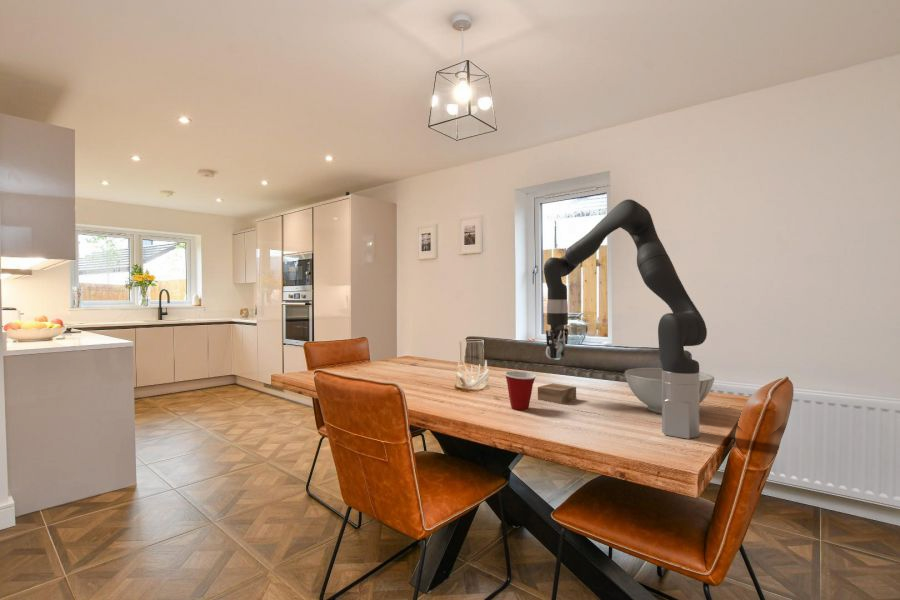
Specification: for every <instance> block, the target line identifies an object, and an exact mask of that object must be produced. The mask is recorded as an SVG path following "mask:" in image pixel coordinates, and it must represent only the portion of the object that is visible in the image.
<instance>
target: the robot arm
mask: <svg viewBox="0 0 900 600" xmlns="http://www.w3.org/2000/svg"><path fill="white" fill-rule="evenodd" d="M620 228H621V229H623V230H624V231H625V232H627V233H628V235H629V236H630V237H631V239H632V241H633V243H634V244H635V247H636V250H637V251H636V252H637V253H636V266H637V268H638V269H637V270H638V272H639V274H640V276H641V279H642V281H643V283H644V284H645V285H646V287H647V288H648V289H649V290H650V291H651V292H652V293H654V294H655V295H656V296H657V297H659V299H660V300H662V301H663V302H665V304H666V305H667V306H668V307H669V309H670V310H671V312H668V313H665V314H663V315H662V316H661V318H660V319H659V322H658V325H657V336H658V337H657V340H658V354H659V355H658V356H659V360H660V365H661V368H662V413H661V431H662V433H663V434H664V435H665V436H670V437H677V438H683V439H688V440H689V439H693V438H698V437H699V436H700V404H699V372H700V363H699V362H698V361H697V360H695V359H693V358H690V357H688V356H687V355H686V353H685V349H684V347H697V346H700V345H702V344H703V343H705V341H706V340H707V335H708V330H707V329H708V328H707V325H706V322H705V320H704V318H703V316H702V314H701V313H700V311H699V309H698V308H697V307H696V305H695V303H694V302H693V301H692V299H691V297H690V296H689V294H688V292H687V290H686V289H685V287H684V285H683V282H682V281H681V279H680V276H679V275H678V273H677V271H676V268H675V266H674V264H673V262H672V260H671V257H670V256H669V254H668V253H667V251H666V249H665V247H664V244H663V243H662V241H661V240H660V238H659V235H658V233H657V230H656V227H655V224H654V220H653V218H652V215H651V213H650V211H649V210H648V209H647V207H645V206H643V204H640V203H639V202H638V201H636V200H634V199H630V198H629V199H624V200H623V201H621V202H619V203H618V204H617V205H615V206H614V207H613V208H612V209H611V210H610V211H609V212H608V213H607V214H606V215H605V216H604V217H603V218H602V219H601V220H600V221H599V222H598V223H597V224H596V225H595V226H594V227H592V229H591V230H590V231H589V232H588V233H586V234H584V236H583V237H581V238H580V239H578V240H577V241H576V242H574V243H573V244H571V245H570V246H569V247H567V249H566V250H565V253H564V255H563V256H562V257H555V256H553V257H550V258H547V260H546V261H545V263H544V266H543V275H544V281H545V284H546V287H547V301H546V302H547V303H546V324H547V325H548V326H550V328H549V330H548V329H546V330H545V336H546V337H545V338H546V339H545V340H546V347H548V346H549V349H550V355H549V356H550V358H554V359H553V360H555V358H558V357H557V343H558V342H561V343H562V344H563V351H562V352H561V358H563V357H565V347H566V345H568V342H569V341H568V340H569V339H568V338H569V328H565V326H567V325H568V324H569V313H568V312H569V306H568V305H569V304H568V287H567V285H566V284H565V283H563V280H562V279H563V278H564V277H566V276H568V275H569V274H571V273H572V272H573V271H574V270H575V269H576V268H577V267H578V266H579V264H581V263H582V264H583V262H584V261H586V260H587V259H589V258H590V257H592V256H593V255H594V254H596V252H598V250H599V249H600V247H601V246H602V244H603V242H604V240H605V239H606V238H607V237H608V236H609V235H610V234H611V233H613V232H615V231H616V230H618V229H620ZM554 342H555V344H554Z"/></svg>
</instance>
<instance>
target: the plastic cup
mask: <svg viewBox="0 0 900 600" xmlns="http://www.w3.org/2000/svg"><path fill="white" fill-rule="evenodd" d="M504 375H505V379H506V384H507V391H508V397H509V402H510V408H511V409H512V410H516V411H527V410H528V409H529V407H530V403H531V399H532V391H533V386H534V382H535V380H536V378H537V374H534V373H531V372H528V371H527V372H526V371H521V370H520V371H518V370H509V371H505V372H504Z"/></svg>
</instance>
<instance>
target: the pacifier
mask: <svg viewBox="0 0 900 600" xmlns="http://www.w3.org/2000/svg"><path fill="white" fill-rule="evenodd" d="M554 344H555V342H554ZM545 349H546V350H545V356H546V357H547V358H548V359H549V360H554V361H559V360H561V359H562V357H561V352H562V351H563V344H562V343H561V342H558V343H557V358H555V359H554V358H550V348H549V346H546V348H545Z"/></svg>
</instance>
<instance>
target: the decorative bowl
mask: <svg viewBox="0 0 900 600" xmlns="http://www.w3.org/2000/svg"><path fill="white" fill-rule="evenodd" d="M624 377H625V379H626V381H627V385H628V387H629V389H630V391H631V392H632V394H633V395H634V396H635V397H636V398H637V399H638V400H639V401H640V402H641V403H643V404H644V405H646V406H647V409H648V410H649V411H651V412H653V413H657V414H662V367H640V368H639V367H638V368H631V369H630V368H629V369H627V370H624ZM714 381H715V377H714V376H713V375H712V374H709V373H706V372H701V371H699V405H700V404H701V403H702V402H703V401H704V400H705V398H707V396H708V395H709V394H710V391H711V390H712V387H713V386H714Z"/></svg>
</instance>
